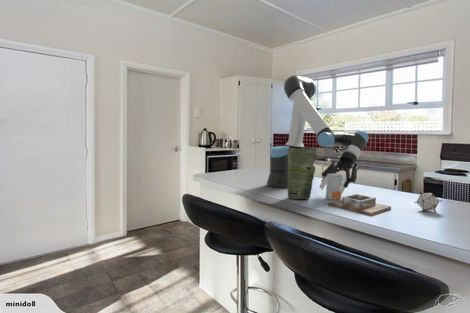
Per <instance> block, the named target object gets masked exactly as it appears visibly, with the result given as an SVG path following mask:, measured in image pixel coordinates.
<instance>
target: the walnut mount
mask: <svg viewBox="0 0 470 313" xmlns="http://www.w3.org/2000/svg"><path fill="white" fill-rule="evenodd" d="M376 199H377V198H376V197H374V196H368V195H363V194H358V193H356V194H355V193H354V194H352V195H346V196H341V199H334V200H331V201H327V205H328V206H331V207H334V208H339V209H342V210H343V209H344V210H346V211H352V212H355V213H359V214H363V215H367V216H374V215H378V214H381V213H384V212H387V211H390V210H392V206H391V205H386V204H382V203H377V202H376V201H377V200H376Z"/></svg>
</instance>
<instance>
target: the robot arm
mask: <svg viewBox="0 0 470 313" xmlns="http://www.w3.org/2000/svg"><path fill="white" fill-rule="evenodd" d="M283 91H284V94H285V95H286V97H287V98H288V99H289V101H290V102H292V103H293V104H292V111H291V112H292V113H291V117H290V118H291V119H290V126H289V135H288V140H287V142H286V143H285V145H278V146H273V147H271V148H270V153H269V156H270V158H269V175H268V178H267V180H266V186H267V187H269V188H270V187H271V188H276V189H277V188H279V189H286V188H287V189H288V170H289V164H288V155H287V153H288V149H289V148H297V149H301V148H302V147H303V150H305V145H304V143H303V142H304V136H305V134H304V133H305V128H306V127H305V126H306V122H307V124H308V125H309V126H310V128H311V129H312V131H313V132H314V133H315V135H316V136H317V138H316V140H317V143H318V145H319V146H320V147H322V148H331V147H342V148H345V149H344V150H343V152H342V154H341V155H340V158H339V160H338V161H334V160H333V161H331V163H330V165H329V166H328V167H327V168H326V169H325V170H324V171H323V172H322V173H321V176H322V177H323V178H322V179H321V183H320V185H319V188H320V189H321V190H322V191H323V190H324V189H325V187H326V186H327V174H338V173H340V172H345V179H344V180H342V185H341V186H340V188H339V192H340V193H341V195H342V194H344V191H345V189H347V188H348V187H349V185H350V183H353V184H354V183H355V182H356V177H357V171H358V169H359V168H360V167H359V165H358V163H357V161H358V159H359V157H360V155H361V154H362V151H363V150H364V148H365V147H366V145H367V144H368V142H369V139H370V137H369V134H368V133H367V132H366V131H365V130H361V129H360V130H356V131H355V132H354V133H346V132H341V131H338V130H337V131H334V130H333V131H332V129H331V128H330V126H329V125H328V124H327V122H326V121H325V119H324V118H323V117H322V116H321V114H320V112H319V111H318V110H317V109H316V107H315V106H314V104H313V103H312V102H311V101H312V98H313V96H314V95H316V91H317V86H316V83H315V81H314V80H313V79H311V78H309V77H305V76H300V75H291V76H289V77H287V78H286V79H285V80H284V83H283ZM350 170H351V171H350Z"/></svg>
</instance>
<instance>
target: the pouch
mask: <svg viewBox="0 0 470 313" xmlns="http://www.w3.org/2000/svg"><path fill="white" fill-rule="evenodd" d="M317 150H318V149H317V148H315V147H313V148H310V149H309V148H307V149H304V150H303V147H302V148H301V149H297V148H289V149H288V153H287V155H288V164H289V170H288V188H287V198H289V199H293V200H305V199H306V200H309V199H310V198H311V193H312V188H313V180H314V178H315V176H314V175H315V172H316V167H315V166H314V162H315V160H314V157H315V154H316V152H317Z"/></svg>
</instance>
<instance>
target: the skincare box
mask: <svg viewBox="0 0 470 313" xmlns="http://www.w3.org/2000/svg"><path fill="white" fill-rule="evenodd" d="M342 183H343V174H341V173H335V174H327V184H326V185H325V187H326V188H325V189H326V191H325V198H326V199H329V200H339V199H342V194H341V193H340V192H339V188H340V186H341V185H342Z"/></svg>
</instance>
